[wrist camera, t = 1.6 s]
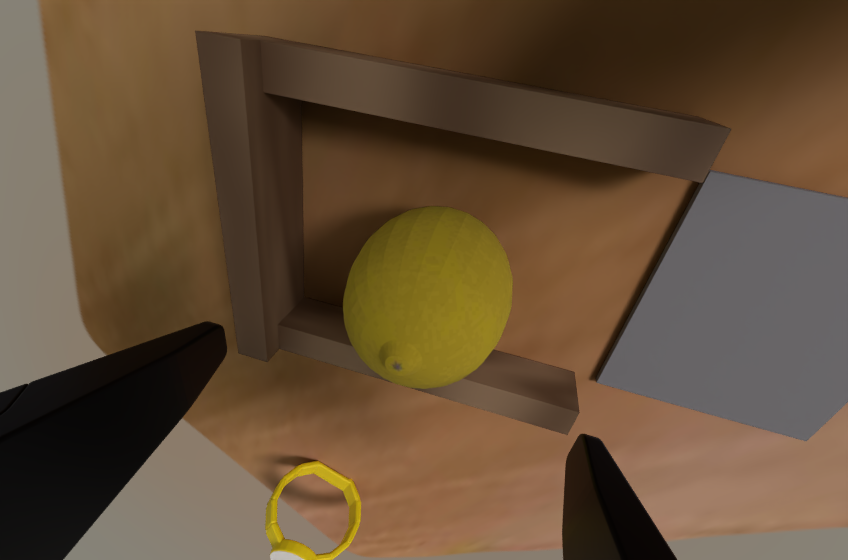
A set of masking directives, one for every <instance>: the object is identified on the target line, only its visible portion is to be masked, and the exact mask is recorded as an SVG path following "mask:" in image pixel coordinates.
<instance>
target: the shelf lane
mask: <svg viewBox="0 0 848 560" xmlns="http://www.w3.org/2000/svg"><path fill="white" fill-rule="evenodd" d="M195 33H196V40H197V48H198V55H199V63H200V70H201V78H202V85H203V93H204V100H205V107H206V115H207V122H208V130H209V137H210V145H211V152H212V159H213V167H214V174H215V182H216V189H217V197H218V204H219V212H220V219H221V226H222V234H223V241H224V249H225V256H226V264H227V271H228V278H229V286H230V293H231V301H232V308H233V316H234V323H235V331H236V338H237V345H238V353H239V354H242V355H246V356H249V357H252V358H256V359H259V360H262V361H265V362H268V361H269V360H270V358H271V357H272V356H273V355H274V354H275V353H276V352H277V351H278V349H282V350H285V351H289V352H292V353H295V354H299V355H302V356H305V357H309V358H312V359H315V360H319V361H322V362H325V363H329V364H332V365H335V366H339V367H342V368H345V369H349V370H352V371H355V372H359V373H362V374H365V375H369V376H372V377H375V378H379V379H382V380H385V381H389V380H387V379H384V378H383V377H381V376H380V375H379V374H377V373H376V372H374V371H373V370H372V369H370V368H369V367H368V366H367V365H366V364H365V363H364V361H363V360H362V359H361V358H360V357H359V355H358V354H357V352H356V350H355V349H354V347H353V346H352V344H351V342H350V340H349V337H348V334H347V331H346V328H345V323H344V313H343V308H342V307H338V306H334V305H331V304H327V303H324V302H320V301H316V300H313V299H309V298H306V297H304V245H303V177H302V109H301V100H304V101H309V102H313V103H318V104H323V105H328V106H333V107H338V108H342V109H347V110H352V111H357V112H362V113H367V114H371V115H376V116H381V117H386V118H391V119H396V120H400V121H405V122H410V123H415V124H420V125H425V126H429V127H434V128H439V129H444V130H449V131H454V132H458V133H463V134H468V135H473V136H478V137H483V138H487V139H492V140H497V141H502V142H507V143H512V144H516V145H521V146H526V147H531V148H536V149H541V150H546V151H550V152H555V153H560V154H565V155H570V156H575V157H579V158H584V159H589V160H594V161H599V162H604V163H608V164H613V165H618V166H623V167H628V168H633V169H637V170H642V171H647V172H652V173H657V174H662V175H666V176H671V177H676V178H681V179H686V180H691V181H695V182H700V183H703V181H704V179H705V177H706V176H707V174H708V172H709V170H710V168H711V166H712V164H713V163H714V161H715V159H716V157H717V155H718V153H719V151H720V150H721V148H722V146H723V144H724V142H725V140H726V138H727V136H728V135H729V133H730V131H731V128H728V127H725V126H722V125H720V124H717V123H714V122H711V121H709V120H706V119H703V118H701V117H697V116H692V115H686V114H681V113H675V112H670V111H665V110H659V109H654V108H649V107H643V106H638V105H632V104H627V103H622V102H616V101H611V100H606V99H600V98H595V97H589V96H584V95H579V94H573V93H568V92H562V91H557V90H552V89H546V88H541V87H536V86H530V85H525V84H519V83H514V82H509V81H503V80H498V79H493V78H487V77H482V76H476V75H471V74H466V73H460V72H455V71H450V70H444V69H439V68H433V67H428V66H423V65H417V64H412V63H407V62H401V61H396V60H390V59H385V58H380V57H374V56H369V55H364V54H358V53H353V52H347V51H342V50H337V49H331V48H326V47H321V46H315V45H310V44H304V43H299V42H294V41H288V40H283V39H277V38H272V37H267V36H258V35H245V34H232V33H219V32H206V31H195ZM389 382H391V381H389ZM392 383H393V382H392ZM405 387H406V386H405ZM409 388H410V387H409ZM412 389H415V390H419V391H422V392H426V393H429V394H432V395H436V396H439V397H442V398H446V399H449V400H452V401H456V402H459V403H462V404H466V405H469V406H472V407H476V408H479V409H482V410H486V411H489V412H492V413H496V414H499V415H502V416H506V417H509V418H512V419H516V420H519V421H522V422H526V423H529V424H532V425H536V426H539V427H542V428H546V429H549V430H552V431H556V432H559V433H562V434H566V435H568V433H569V431H570V429H571V427H572V426H573V424H574V422H575V420H576V418H577V416H578V414H579V405H578V397H577V389H576V381H575V373H574V372H572V371H568V370H564V369H561V368H557V367H554V366H550V365H547V364H543V363H539V362H536V361H532V360H529V359H525V358H521V357H518V356H514V355H511V354H507V353H503V352H500V351H496V350H492V352H491V353H490V354H489V356H488V357H487V358H486V359H485V361H484V362H483V363H482V364H481V365H480V366H479V367H478V368H477V369H476V370H475V371H473V372H472V373H470V374H469V375H467V376H466V377H465V378H463V379H461V380H459V381H457V382H454V383H452V384H449V385H446V386H443V387H436V388H428V389H420V388H412Z"/></svg>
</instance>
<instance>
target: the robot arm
mask: <svg viewBox="0 0 848 560" xmlns="http://www.w3.org/2000/svg"><path fill="white" fill-rule="evenodd" d="M226 353H227V345H226V338H225V332H224V328H223V327H222V326H221V325H219V324H216V323H212V322H202V323H199V324H197V325H194V326H191V327H188V328H185V329H182V330H179V331H176V332H174V333H171V334H168V335H165V336H162V337H159V338H156V339H153V340H151V341H148V342H145V343H142V344H139V345H136V346H133V347H130V348H128V349H125V350H122V351H119V352H116V353H113V354H110V355H107V356H104V357H102V358H99V359H96V360H93V361H90V362H87V363H84V364H82V365H79V366H76V367H73V368H70V369H67V370H65V371H61V372H58V373H56V374H53V375H50V376H47V377H44V378H41V379H38V380H35V381H33V382H31V383H29V384H24V385H21V386H18V387H15V388H12V389H9V390H6V391H4V392H1V393H0V560H63V559H64V558H65V557H66V556H67V555H68V553H69V552H70V551H71V550H72V548H73V547H74V546H75V545H76V544H77V543H78V541H79V540H80V539H81V538H82V537H83V535H84V534H85V533H86V532H87V531H88V529H89V528H90V527H91V526H92V525H93V523H94V522H95V521H96V520H97V519H98V517H99V516H100V515H101V514H102V513H103V511H104V510H105V509H106V508H107V507H108V506H109V504H110V503H111V502H112V501H113V500H114V498H115V497H116V496H117V495H118V494H119V492H120V491H121V490H122V489H123V488H124V486H125V485H126V484H127V483H128V482H129V481H130V479H131V478H132V477H133V476H134V475H135V473H136V472H137V471H138V470H139V469H140V468H141V466H142V465H143V464H144V463H145V462H146V460H147V459H148V458H149V457H150V456H151V454H152V453H153V452H154V451H155V449H156V448H157V447H158V446H159V445H160V444H161V442H162V441H163V440H164V439H165V437H167V435H168V434H169V433H170V432H171V431H172V429H173V428H174V427H175V426H176V425H177V423H178V422H179V421H180V420H181V419H182V417H183V416H184V415H185V414H186V412H187V411H188V410H189V409H190V407H191V406H192V405H193V403H194V402H195V401H196V399H197V398H198V396H199V395H200V393H201V392H202V390H203V389H204V387H205V386H206V384H207V383H208V382H209V380H210V379H211V377H212V376H213V374H214V373H215V371H216V370H217V368H218V367H219V366H220V364H221V363H222V361H223V360H224V358H225V356H226ZM562 542H563V560H677V558H676V557H675V555H674V554H673V552H672V551H671V549H670V547H669V546H668V544H667V543H666V541H665V539H664V538H663V536H662V535H661V533H660V532H659V530H658V528H657V527H656V525H655V524H654V522H653V521H652V519H651V517H650V516H649V514H648V513H647V511H646V510H645V508H644V506H643V505H642V503H641V502H640V500H639V499H638V497H637V496H636V494H635V492H634V491H633V489H632V488H631V486H630V485H629V483H628V481H627V480H626V478H625V477H624V475H623V474H622V472H621V470H620V469H619V467H618V466H617V464H616V463H615V461H614V459H613V458H612V456H611V455H610V453H609V452H608V450H607V448H606V447H605V445H604V444H603V442H602V441H601V440H600V439H599V438H597V437H593V436H590V435H587V434H580V435H579V436H578V438H577V440H576V441H575V443H574V445H573V447H572V448H571V450H570V452H569V454H568V456H567V460H566V468H565V486H564V505H563V525H562Z"/></svg>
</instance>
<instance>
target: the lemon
mask: <svg viewBox="0 0 848 560" xmlns="http://www.w3.org/2000/svg"><path fill="white" fill-rule="evenodd" d="M512 284H513V280H512V274H511V270H510V266H509V262H508V258H507V255H506V253H505V251H504V249H503V247H502V246H501V244H500V242H499V241H498V239H497V237H496V235H495V234H494V233H493V232H492V231H491V230H490V229H489V228H488V227H487V226H486V225H485V224H484V223H483V222H481V221H480V220H478V219H476V218H475V217H473V216H471V215H470V214H468V213H466V212H463V211H460V210H457V209H454V208H450V207H440V206H428V207H422V208H417V209H412V210H409V211H407V212H405V213H403V214H401V215H399V216H397V217H394V218H392V219H390V220H389V221H388V222H386V223H385V224H384V225H383V226H382V227H381V228H379V229H378V230H377V231H376V232H375V233H374V234H373V235H372V236H371V237H370V238H369V239H368V240H367V242H366V243H365V244H364V246H363V248H362V249H361V251H360V253H359V254H358V256H357V258H356V259H355V261H354V263H353V265H352V267H351V270H350V273H349V276H348V280H347V284H346V289H345V293H344V298H343V313H344V323H345V328H346V331H347V334H348V337H349V340H350V342H351V344H352V346H353V347H354V349H355V350H356V352H357V354H358V355H359V357H360V358H361V359H362V360H363V361H364V363H365V364H366V365H367V366H368V367H369V368H370V369H372V370H373V371H374V372H376V373H377V374H379V375H380V376H381V377H383V378H384V379H387V380H389V381H391V382H393V383H395V384H399V385H402V386H406V387H410V388H420V389H428V388H436V387H443V386H446V385H449V384H452V383H454V382H457V381H459V380H461V379H463V378H465V377H466V376H467V375H469V374H470V373H472V372H473V371H475V370H476V369H477V368H478V367H479V366H480V365H481V364H482V363H483V362H484V361H485V359H486V358H487V357H488V356H489V354H490V353H491V352H492V350H493V349H494V348H495V346H496V345H497V343H498V341H499V340H500V338H501V335H502V333H503V331H504V328H505V325H506V322H507V319H508V317H509V314H510V310H511V305H512Z"/></svg>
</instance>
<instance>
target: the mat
mask: <svg viewBox="0 0 848 560" xmlns="http://www.w3.org/2000/svg"><path fill="white" fill-rule="evenodd" d="M596 382H597V383H600V384H603V385H607V386H610V387H614V388H617V389H621V390H625V391H628V392H632V393H635V394H639V395H643V396H646V397H650V398H653V399H657V400H660V401H664V402H668V403H671V404H675V405H678V406H682V407H685V408H689V409H693V410H696V411H700V412H703V413H707V414H710V415H714V416H718V417H721V418H725V419H728V420H732V421H736V422H739V423H743V424H746V425H750V426H753V427H757V428H761V429H764V430H768V431H771V432H775V433H778V434H782V435H786V436H789V437H793V438H796V439H800V440H803V441H807V440H808V439H809V438H810V437H811V436H812V435H814V434H815V433H816V432H817V431H818V430H819V429H820V428H821V427H822V426H823V425H824V424H825V423H826V422H827V421H828V420H829V419H830V418H831V417H833V416H834V415H835V414H836V413H837V412H838V411H839V410H840V409H841V408H842V407H843V406H844V405H845V404H846V403H847V402H848V198H846V197H841V196H836V195H831V194H826V193H821V192H817V191H812V190H807V189H802V188H797V187H792V186H787V185H782V184H777V183H772V182H767V181H762V180H757V179H752V178H747V177H742V176H737V175H732V174H727V173H723V172H718V171H713V170H709V172H708V174H707V176H706V177H705V179H704V181H703V183H699V185H698V187H697V189H696V191H695V193H694V195H693V197H692V198H691V200H690V202H689V204H688V206H687V208H686V210H685V212H684V213H683V215H682V217H681V219H680V221H679V223H678V225H677V227H676V228H675V230H674V232H673V234H672V236H671V238H670V240H669V242H668V244H667V245H666V247H665V249H664V251H663V253H662V255H661V257H660V259H659V260H658V262H657V264H656V266H655V268H654V270H653V272H652V274H651V275H650V277H649V279H648V281H647V283H646V285H645V287H644V289H643V290H642V292H641V294H640V296H639V298H638V300H637V302H636V304H635V306H634V307H633V309H632V311H631V313H630V315H629V317H628V319H627V321H626V322H625V324H624V326H623V328H622V330H621V332H620V334H619V336H618V337H617V339H616V341H615V343H614V345H613V347H612V349H611V351H610V352H609V354H608V356H607V358H606V360H605V362H604V364H603V366H602V368H601V369H600V371H599V373H598V375H597V377H596Z"/></svg>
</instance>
